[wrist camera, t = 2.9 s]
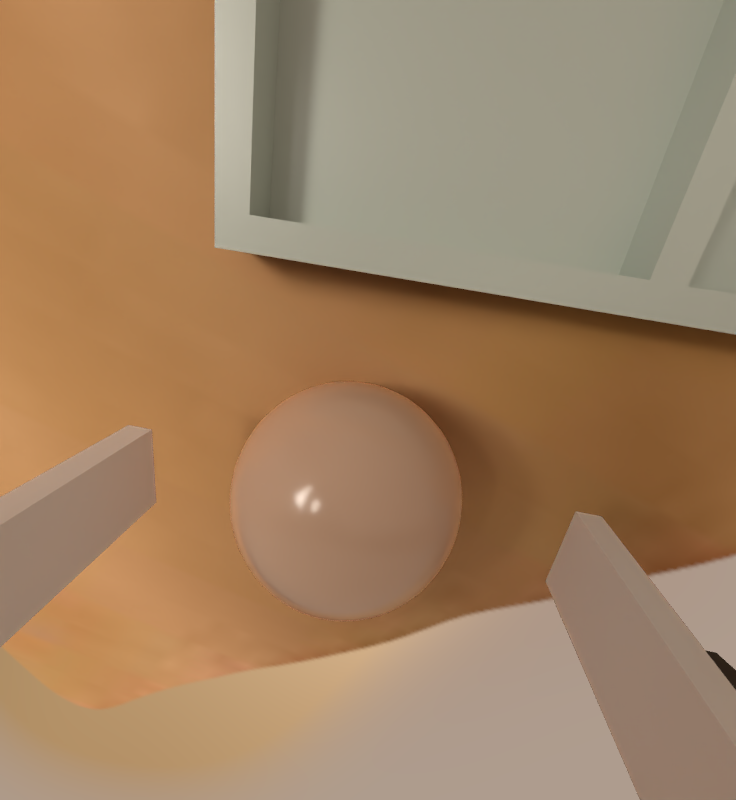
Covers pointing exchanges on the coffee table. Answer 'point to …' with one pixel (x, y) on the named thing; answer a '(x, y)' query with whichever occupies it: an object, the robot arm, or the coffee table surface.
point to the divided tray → (488, 146)
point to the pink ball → (345, 501)
